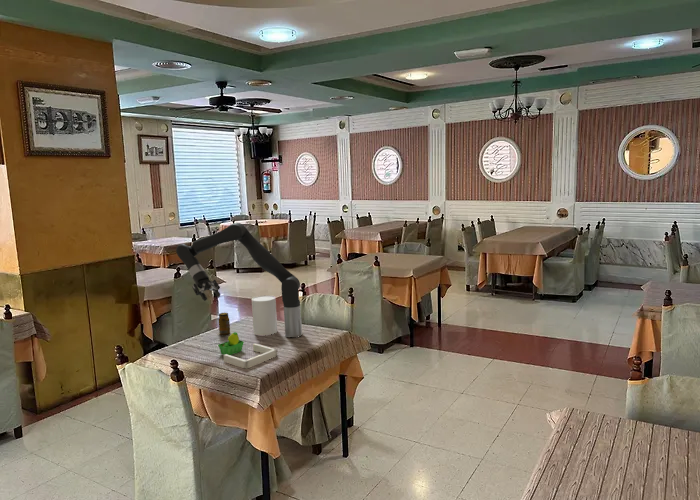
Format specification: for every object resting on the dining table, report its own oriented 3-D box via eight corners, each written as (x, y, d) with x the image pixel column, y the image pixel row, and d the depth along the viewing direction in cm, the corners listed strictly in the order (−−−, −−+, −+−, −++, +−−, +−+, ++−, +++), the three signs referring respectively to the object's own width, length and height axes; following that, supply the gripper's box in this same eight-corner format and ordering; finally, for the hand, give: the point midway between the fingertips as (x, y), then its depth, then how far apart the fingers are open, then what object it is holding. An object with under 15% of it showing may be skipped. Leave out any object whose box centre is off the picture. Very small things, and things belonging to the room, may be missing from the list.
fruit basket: (236, 348, 264) (234, 327, 262) (246, 351, 258) (245, 330, 257) (217, 354, 255) (216, 333, 254) (228, 358, 250) (227, 336, 248)
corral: (224, 361, 245) (223, 354, 244) (255, 349, 260) (255, 343, 259) (245, 369, 234) (245, 361, 234) (277, 356, 250) (277, 349, 249)
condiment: (227, 331, 294) (226, 311, 292) (234, 334, 287) (233, 314, 286) (216, 334, 289) (214, 313, 288) (222, 337, 283) (221, 316, 281)
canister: (249, 334, 285) (247, 300, 282) (260, 327, 298) (258, 295, 295) (271, 336, 281) (269, 301, 278) (281, 329, 294) (279, 295, 291)
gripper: (189, 272, 266) (204, 296, 260) (212, 268, 277) (226, 291, 271) (184, 280, 270) (198, 305, 264) (207, 276, 281) (220, 299, 275)
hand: (212, 298), depth 268 cm, fingers open, 8 cm apart
